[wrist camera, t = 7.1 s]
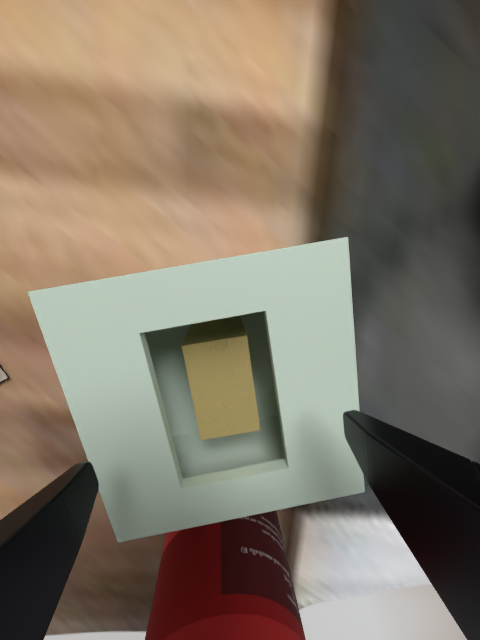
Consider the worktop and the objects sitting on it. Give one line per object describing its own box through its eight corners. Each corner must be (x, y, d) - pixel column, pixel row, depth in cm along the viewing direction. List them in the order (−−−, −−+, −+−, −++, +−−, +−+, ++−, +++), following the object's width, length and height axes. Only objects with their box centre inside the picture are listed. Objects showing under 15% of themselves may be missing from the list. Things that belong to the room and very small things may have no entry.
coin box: (295, 246, 17) (348, 237, 10) (314, 411, 20) (364, 492, 13) (107, 278, 16) (27, 291, 10) (154, 442, 19) (117, 542, 12)
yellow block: (239, 313, 17) (247, 335, 12) (249, 384, 18) (260, 430, 13) (192, 320, 17) (181, 345, 12) (206, 391, 18) (200, 440, 13)
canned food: (172, 537, 21) (124, 818, 11) (174, 452, 19) (119, 686, 9) (265, 535, 22) (309, 799, 11) (276, 453, 20) (339, 672, 9)
